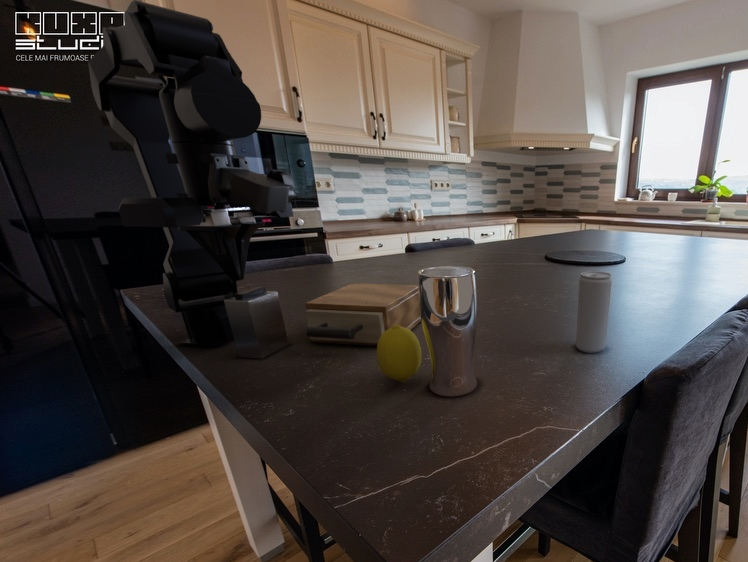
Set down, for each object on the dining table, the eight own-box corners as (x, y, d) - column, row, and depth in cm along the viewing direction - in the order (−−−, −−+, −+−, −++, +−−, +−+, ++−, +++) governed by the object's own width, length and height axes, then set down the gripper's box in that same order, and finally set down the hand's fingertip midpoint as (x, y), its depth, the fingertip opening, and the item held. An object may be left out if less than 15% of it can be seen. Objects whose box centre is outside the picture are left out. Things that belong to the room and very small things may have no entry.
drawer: (369, 354, 59) (365, 323, 57) (292, 349, 61) (286, 319, 59) (415, 318, 75) (412, 293, 74) (353, 315, 77) (350, 290, 75)
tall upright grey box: (238, 357, 60) (221, 294, 57) (267, 343, 66) (253, 285, 62) (262, 359, 59) (246, 295, 56) (289, 344, 65) (276, 286, 62)
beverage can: (611, 348, 64) (618, 274, 59) (595, 356, 60) (601, 279, 56) (585, 340, 67) (590, 270, 62) (569, 348, 63) (573, 274, 59)
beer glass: (457, 404, 47) (450, 279, 42) (414, 389, 50) (403, 272, 45) (490, 381, 52) (488, 269, 47) (450, 370, 56) (443, 263, 50)
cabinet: (390, 346, 64) (385, 306, 62) (312, 342, 66) (305, 302, 64) (423, 319, 78) (420, 285, 75) (357, 316, 80) (353, 283, 77)
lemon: (413, 393, 49) (406, 333, 46) (372, 389, 50) (364, 330, 47) (430, 374, 54) (425, 319, 52) (393, 371, 55) (386, 317, 53)
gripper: (191, 132, 35) (235, 301, 41) (318, 151, 53) (336, 268, 58) (88, 135, 37) (143, 297, 43) (243, 152, 54) (268, 266, 60)
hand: (237, 280), depth 51 cm, fingers closed
